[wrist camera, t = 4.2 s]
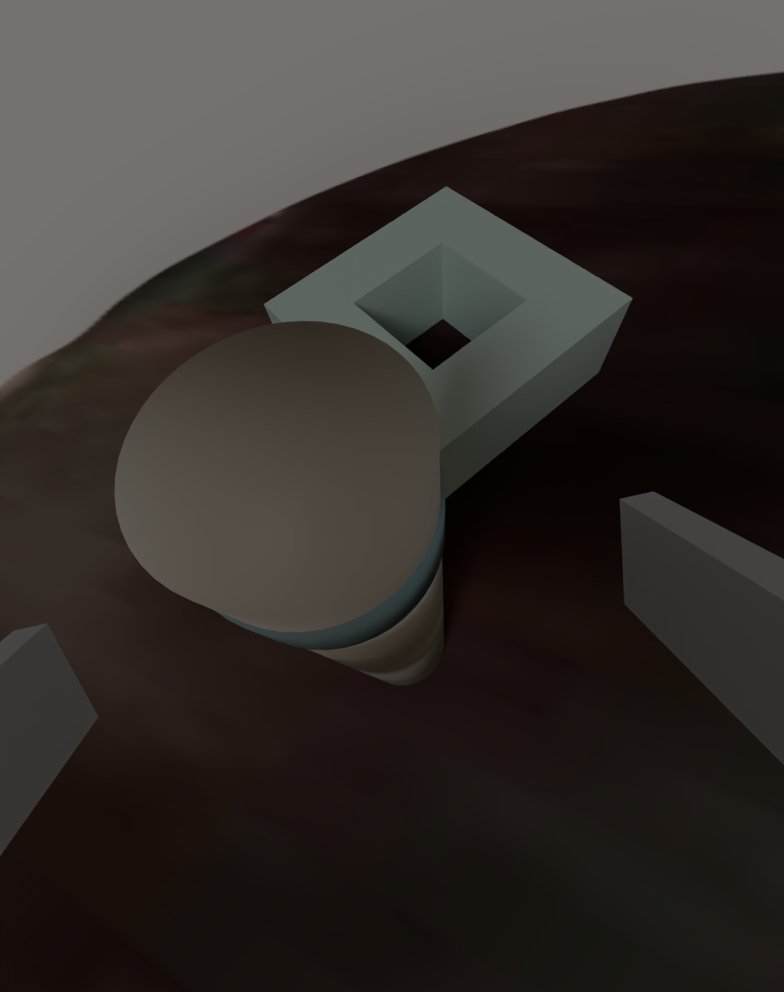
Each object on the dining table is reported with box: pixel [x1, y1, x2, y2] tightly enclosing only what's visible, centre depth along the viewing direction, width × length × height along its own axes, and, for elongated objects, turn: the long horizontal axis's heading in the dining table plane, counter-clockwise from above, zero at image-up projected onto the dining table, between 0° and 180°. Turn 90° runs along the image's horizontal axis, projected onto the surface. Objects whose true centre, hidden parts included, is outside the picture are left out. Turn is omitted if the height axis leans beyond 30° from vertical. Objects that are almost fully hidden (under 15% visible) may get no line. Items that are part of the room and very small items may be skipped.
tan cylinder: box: [115, 321, 445, 686], centre depth 11 cm, size 3×3×15 cm
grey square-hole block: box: [264, 187, 632, 498], centre depth 21 cm, size 11×11×4 cm
